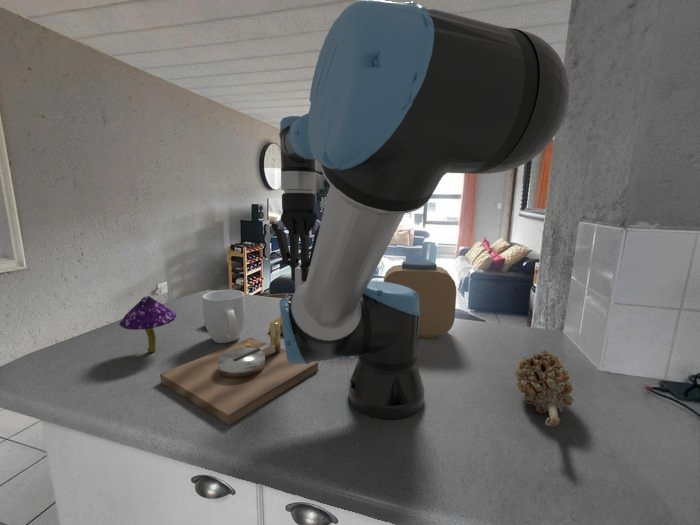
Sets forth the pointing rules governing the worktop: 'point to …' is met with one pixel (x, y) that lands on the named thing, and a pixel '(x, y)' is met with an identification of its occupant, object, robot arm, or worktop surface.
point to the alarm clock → (428, 294)
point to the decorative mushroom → (148, 318)
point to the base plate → (235, 382)
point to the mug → (224, 314)
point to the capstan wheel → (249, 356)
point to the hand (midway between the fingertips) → (300, 294)
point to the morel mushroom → (545, 384)
